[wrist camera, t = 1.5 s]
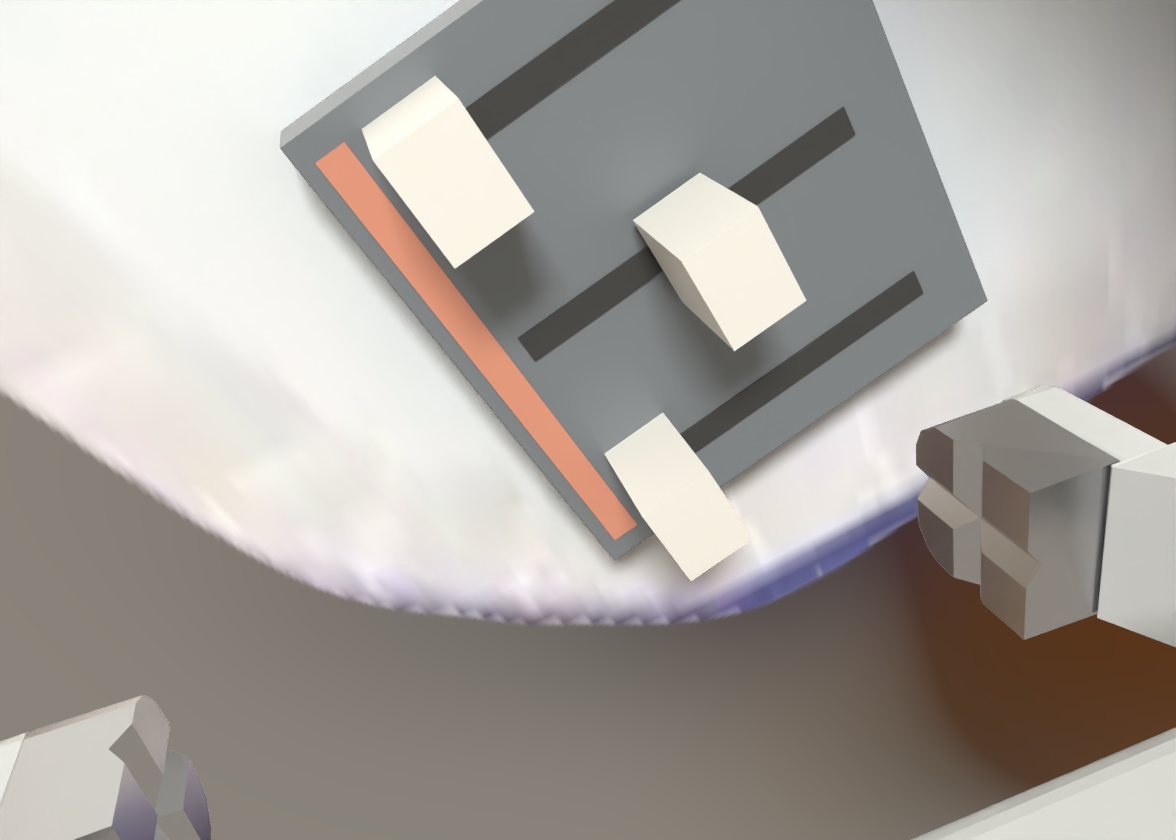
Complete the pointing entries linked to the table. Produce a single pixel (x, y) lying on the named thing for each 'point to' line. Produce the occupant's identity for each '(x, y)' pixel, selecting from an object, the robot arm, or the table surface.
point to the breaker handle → (721, 259)
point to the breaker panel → (616, 247)
